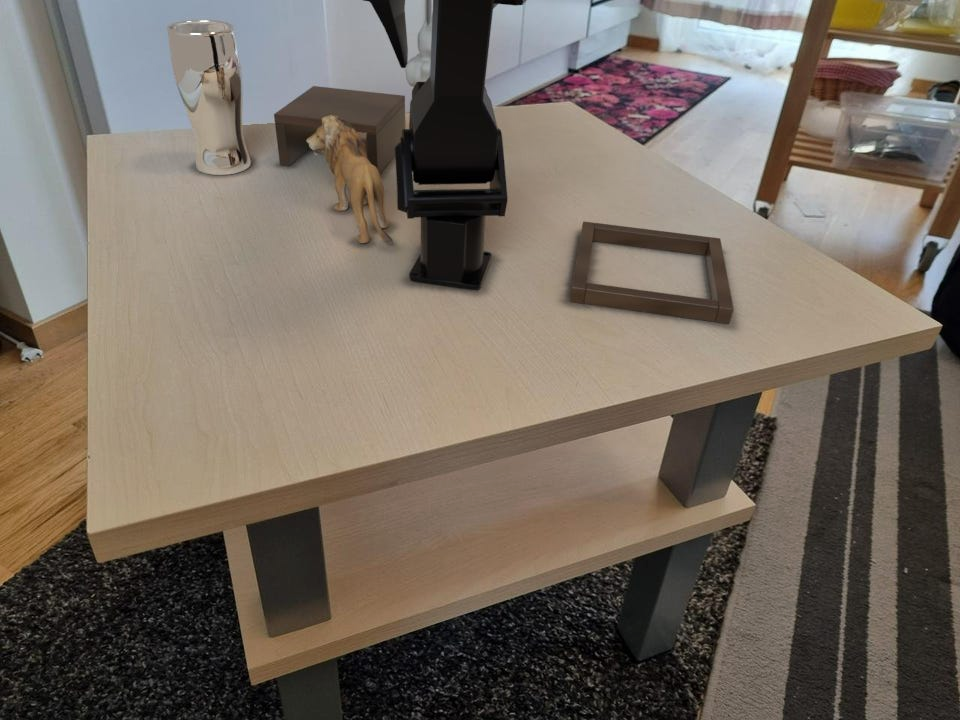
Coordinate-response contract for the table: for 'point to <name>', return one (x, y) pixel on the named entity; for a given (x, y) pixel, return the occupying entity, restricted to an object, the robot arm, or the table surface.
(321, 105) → the small brown stand
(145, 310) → the table surface
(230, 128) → the beer glass
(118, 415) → the table surface
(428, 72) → the white figurine
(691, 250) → the brown rectangular frame
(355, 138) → the lion figurine
